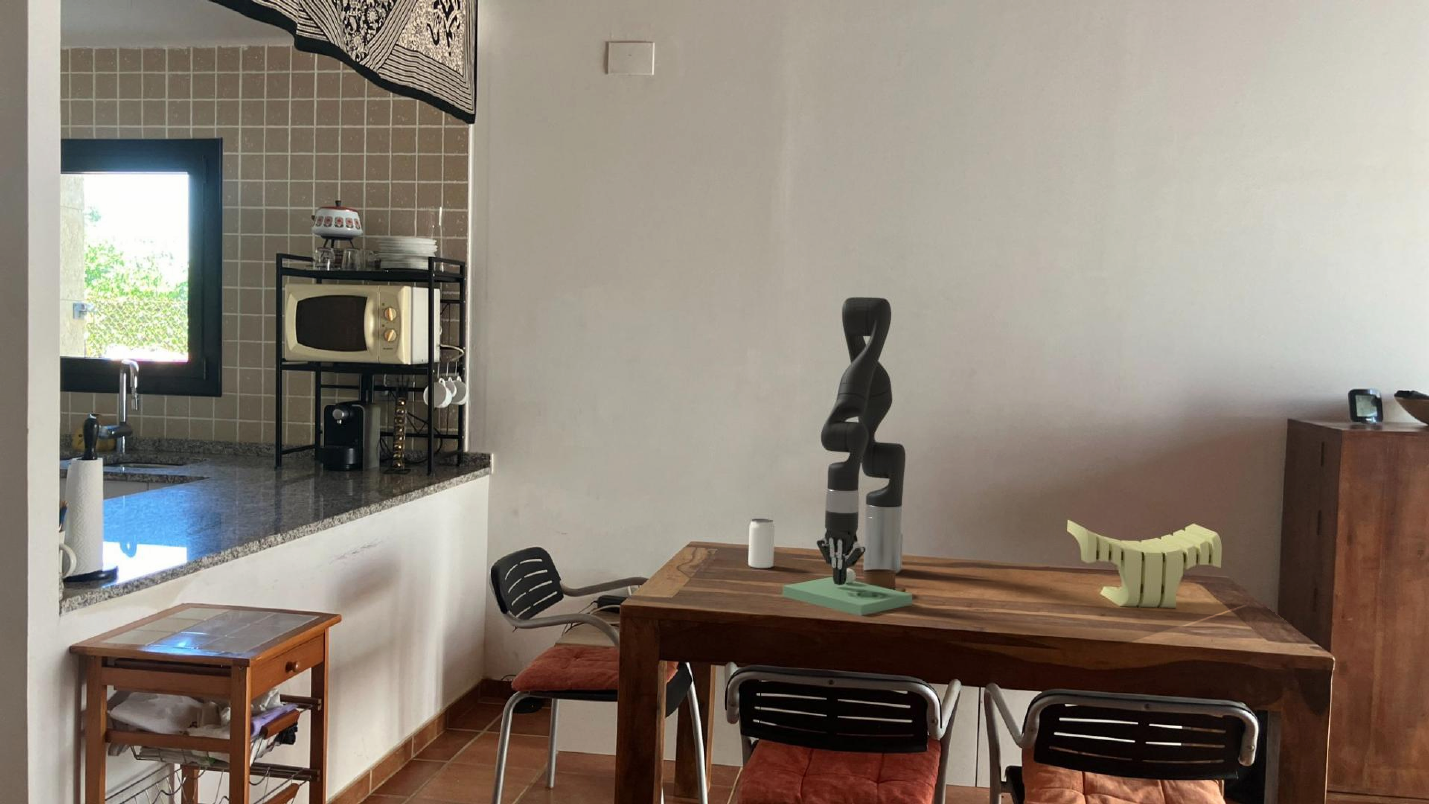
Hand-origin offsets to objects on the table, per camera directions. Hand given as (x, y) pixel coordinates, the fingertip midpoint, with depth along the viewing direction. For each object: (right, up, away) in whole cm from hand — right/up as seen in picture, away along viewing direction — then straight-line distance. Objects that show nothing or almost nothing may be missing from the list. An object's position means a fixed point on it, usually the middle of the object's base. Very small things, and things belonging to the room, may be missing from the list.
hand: (839, 584), depth 255 cm
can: (-17, -1, +34) cm, 38 cm away
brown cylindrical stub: (+10, -4, +6) cm, 13 cm away
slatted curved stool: (+71, -6, +6) cm, 71 cm away
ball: (+3, +1, +5) cm, 5 cm away
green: (+1, -4, -2) cm, 4 cm away
